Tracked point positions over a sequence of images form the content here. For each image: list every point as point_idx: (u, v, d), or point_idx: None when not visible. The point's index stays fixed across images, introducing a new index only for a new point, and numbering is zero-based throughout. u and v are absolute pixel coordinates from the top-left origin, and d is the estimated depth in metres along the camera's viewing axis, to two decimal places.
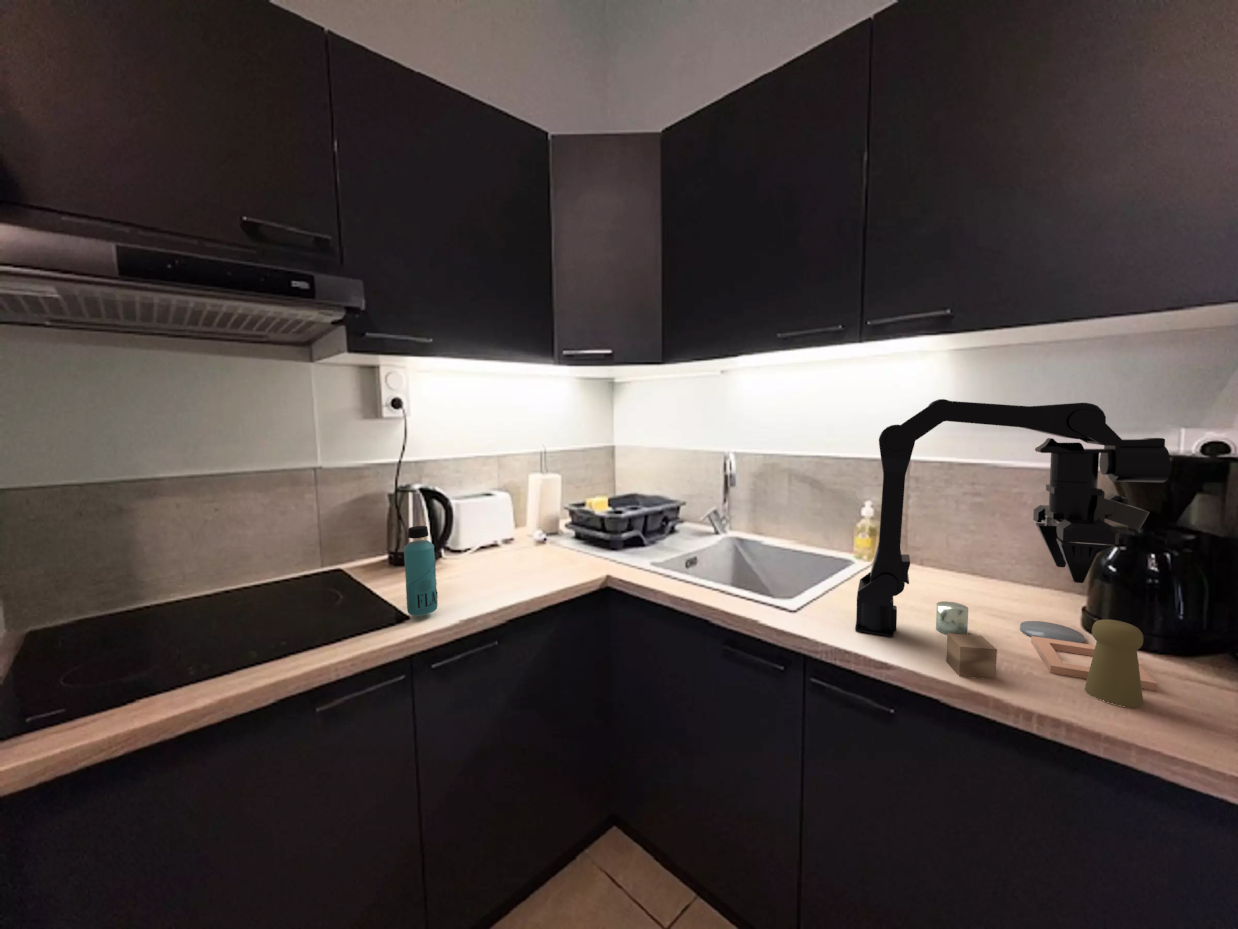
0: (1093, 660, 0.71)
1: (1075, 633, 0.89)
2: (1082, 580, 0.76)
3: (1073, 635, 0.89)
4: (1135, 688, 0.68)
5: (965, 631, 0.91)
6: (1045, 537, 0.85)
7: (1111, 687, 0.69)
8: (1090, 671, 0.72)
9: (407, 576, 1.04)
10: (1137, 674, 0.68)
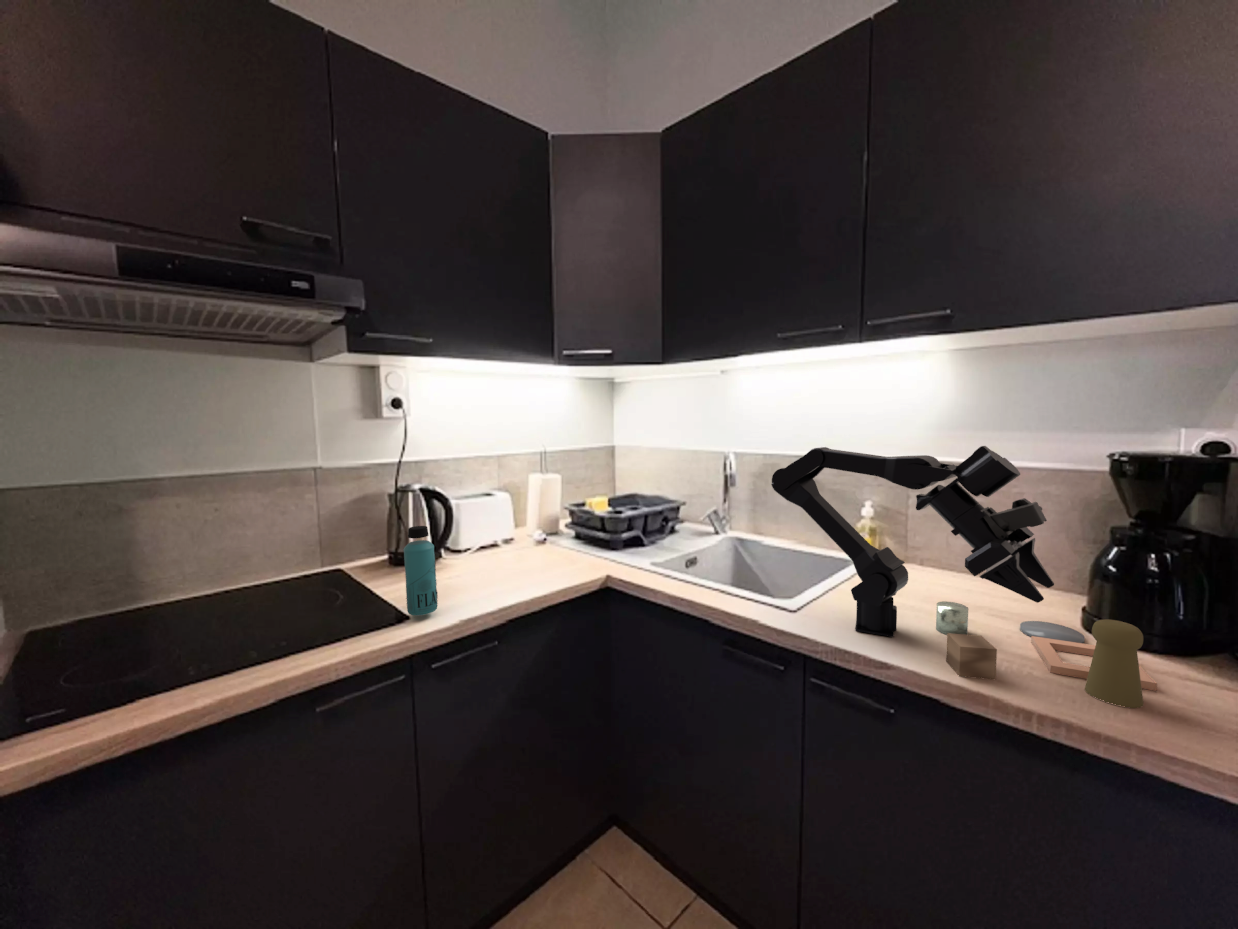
0: (1093, 660, 0.71)
1: (1075, 633, 0.89)
2: (1040, 597, 0.72)
3: (1073, 635, 0.89)
4: (1135, 688, 0.68)
5: (965, 631, 0.91)
6: None
7: (1111, 687, 0.69)
8: (1090, 671, 0.72)
9: (407, 576, 1.04)
10: (1137, 674, 0.68)
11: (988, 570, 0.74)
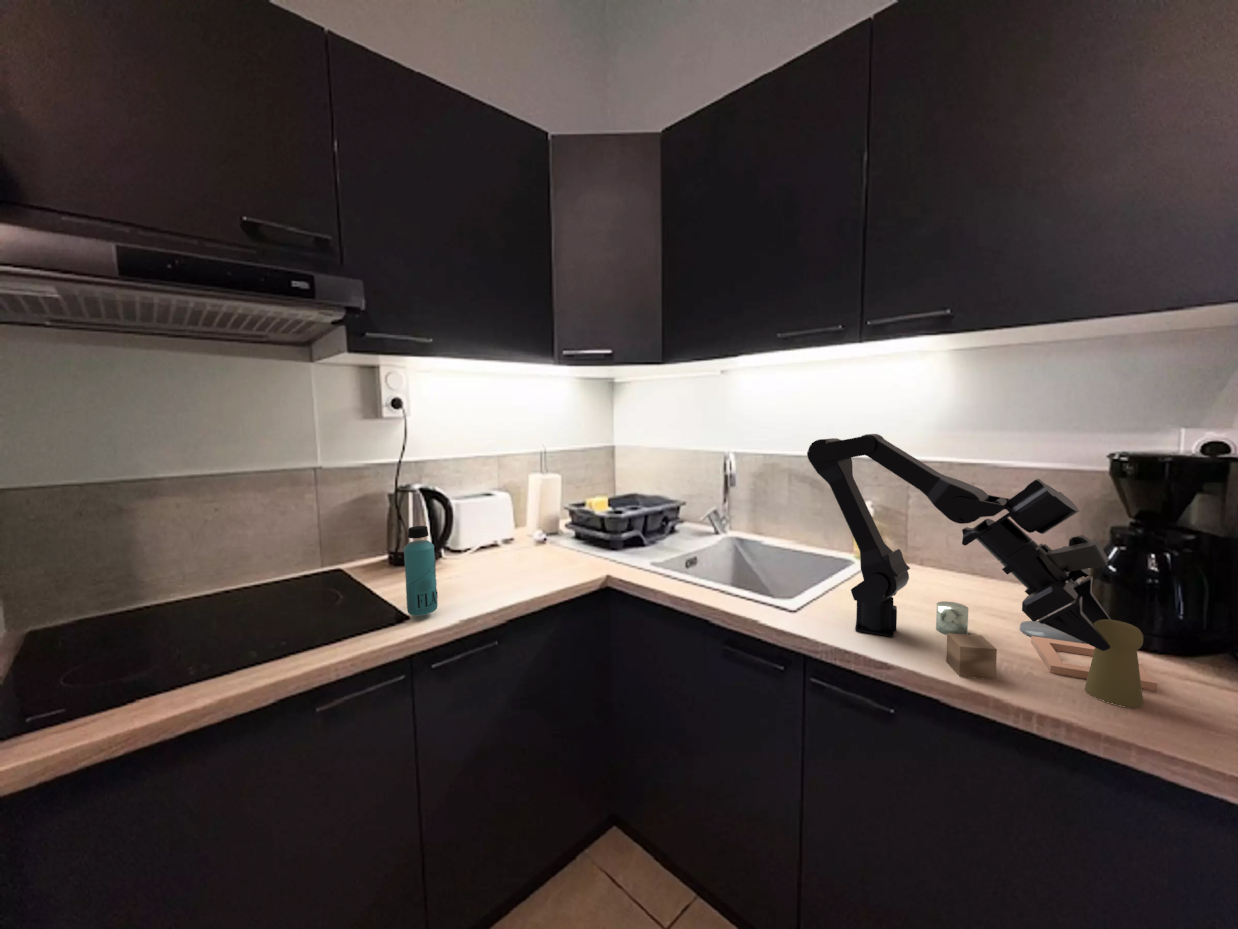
0: (1093, 660, 0.71)
1: None
2: (1106, 646, 0.67)
3: None
4: (1135, 688, 0.68)
5: (965, 631, 0.91)
6: None
7: (1111, 687, 0.69)
8: (1090, 671, 0.72)
9: (407, 576, 1.04)
10: (1137, 674, 0.68)
11: (1048, 615, 0.69)
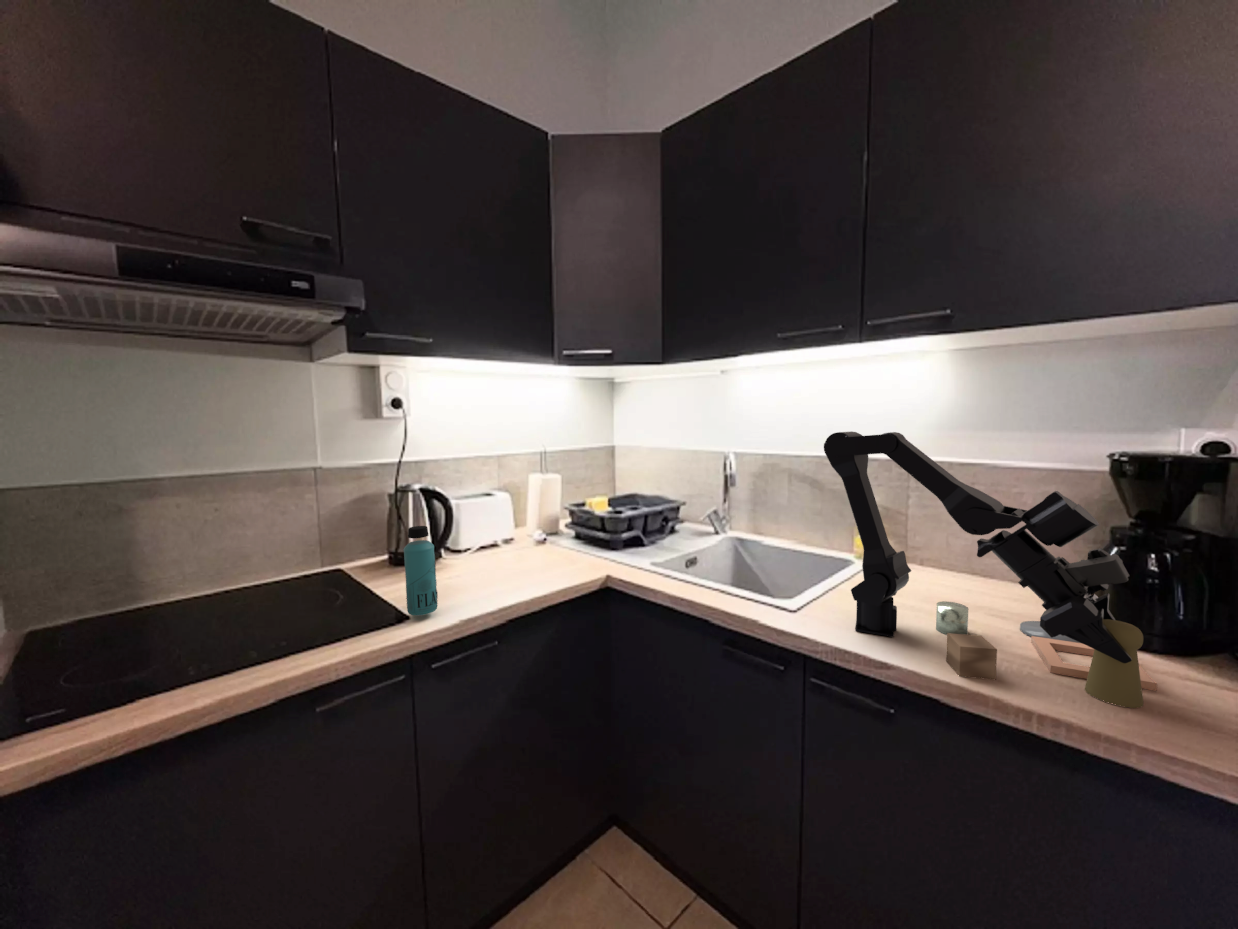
0: (1093, 660, 0.71)
1: None
2: (1128, 658, 0.67)
3: None
4: (1135, 688, 0.68)
5: (965, 631, 0.91)
6: None
7: (1111, 687, 0.69)
8: (1090, 671, 0.72)
9: (407, 576, 1.04)
10: (1137, 674, 0.68)
11: None
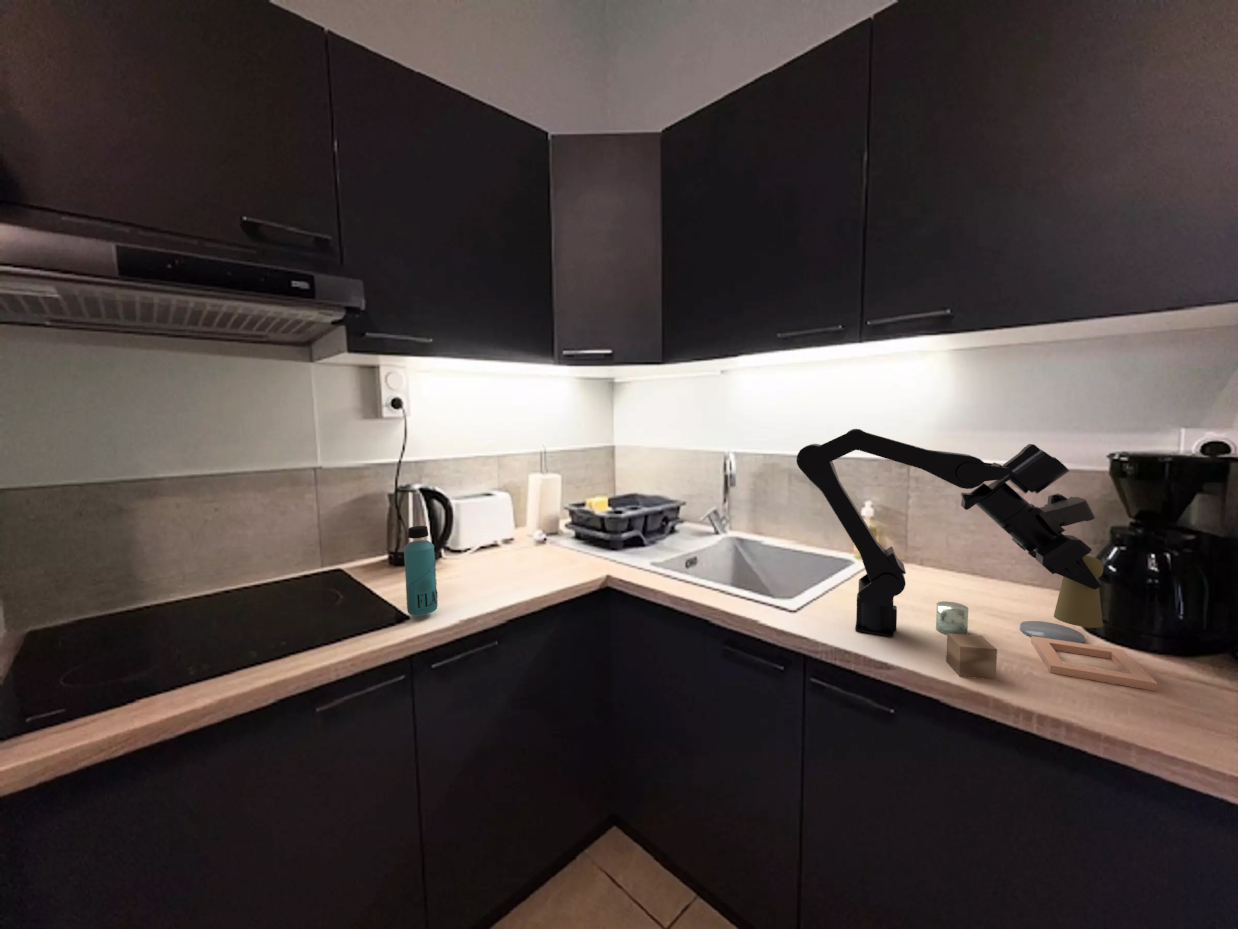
0: (1064, 591, 0.81)
1: (1075, 633, 0.89)
2: (1098, 584, 0.77)
3: (1073, 635, 0.89)
4: (1100, 610, 0.79)
5: (965, 631, 0.91)
6: None
7: (1084, 612, 0.79)
8: (1061, 601, 0.81)
9: (407, 576, 1.04)
10: (1099, 597, 0.79)
11: None
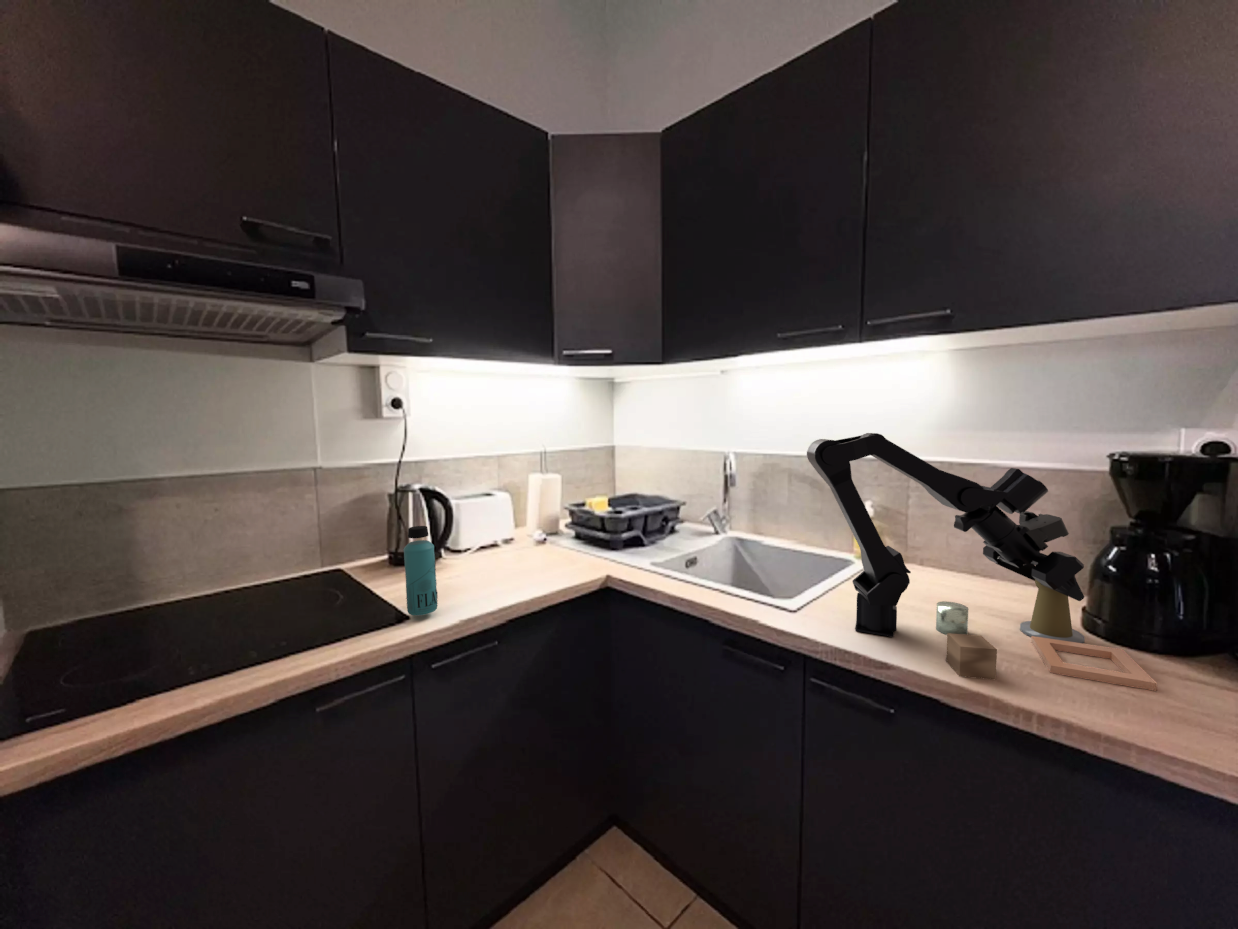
0: (1042, 606, 0.90)
1: (1075, 633, 0.89)
2: (1082, 596, 0.85)
3: (1073, 635, 0.89)
4: (1070, 620, 0.89)
5: (965, 631, 0.91)
6: (1014, 571, 0.95)
7: (1062, 624, 0.88)
8: (1040, 615, 0.90)
9: (407, 576, 1.04)
10: None
11: None
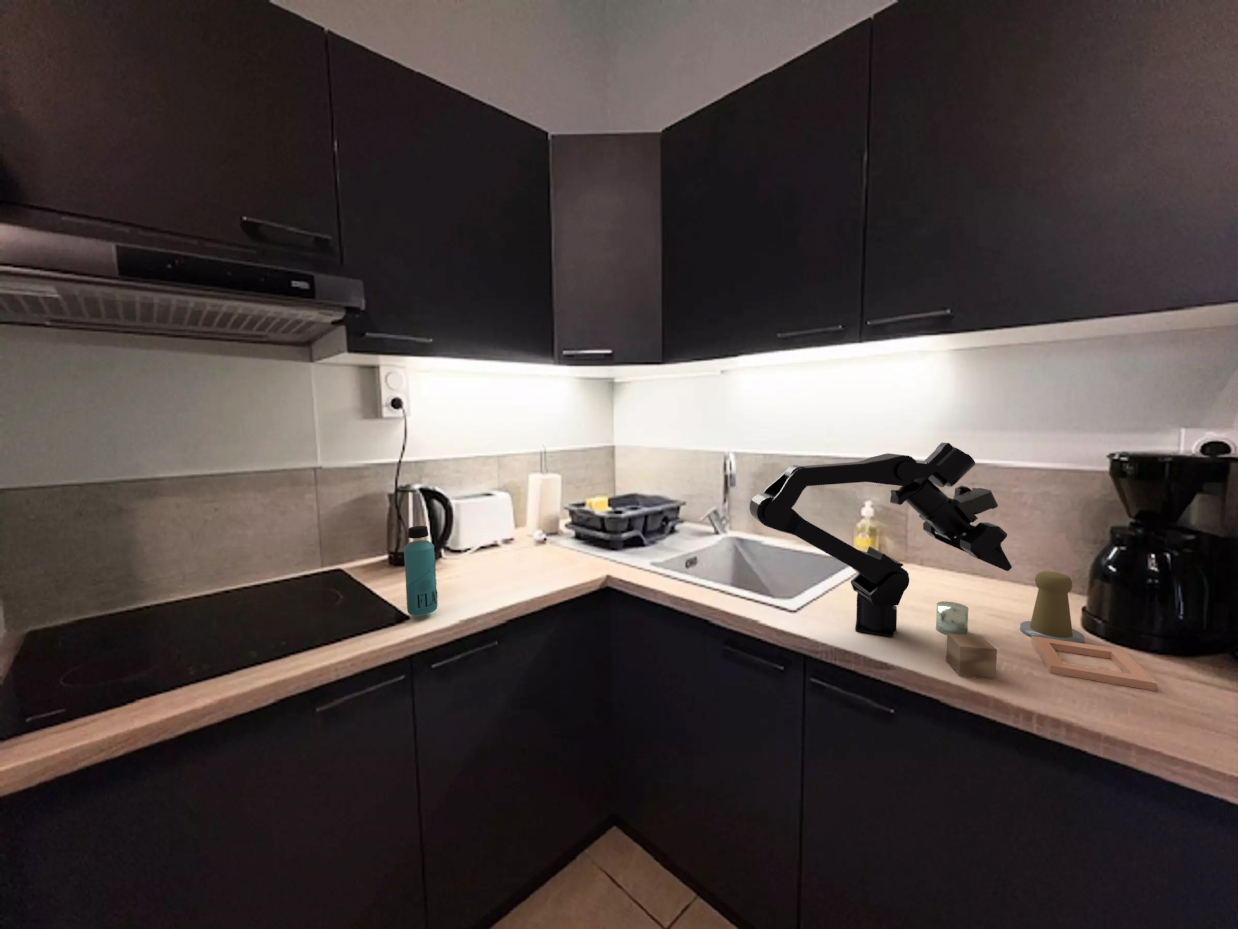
0: (1042, 606, 0.90)
1: (1075, 633, 0.89)
2: (1010, 566, 0.87)
3: (1073, 635, 0.89)
4: (1070, 620, 0.89)
5: (965, 631, 0.91)
6: (951, 544, 0.97)
7: (1062, 624, 0.88)
8: (1040, 615, 0.90)
9: (407, 576, 1.04)
10: None
11: None
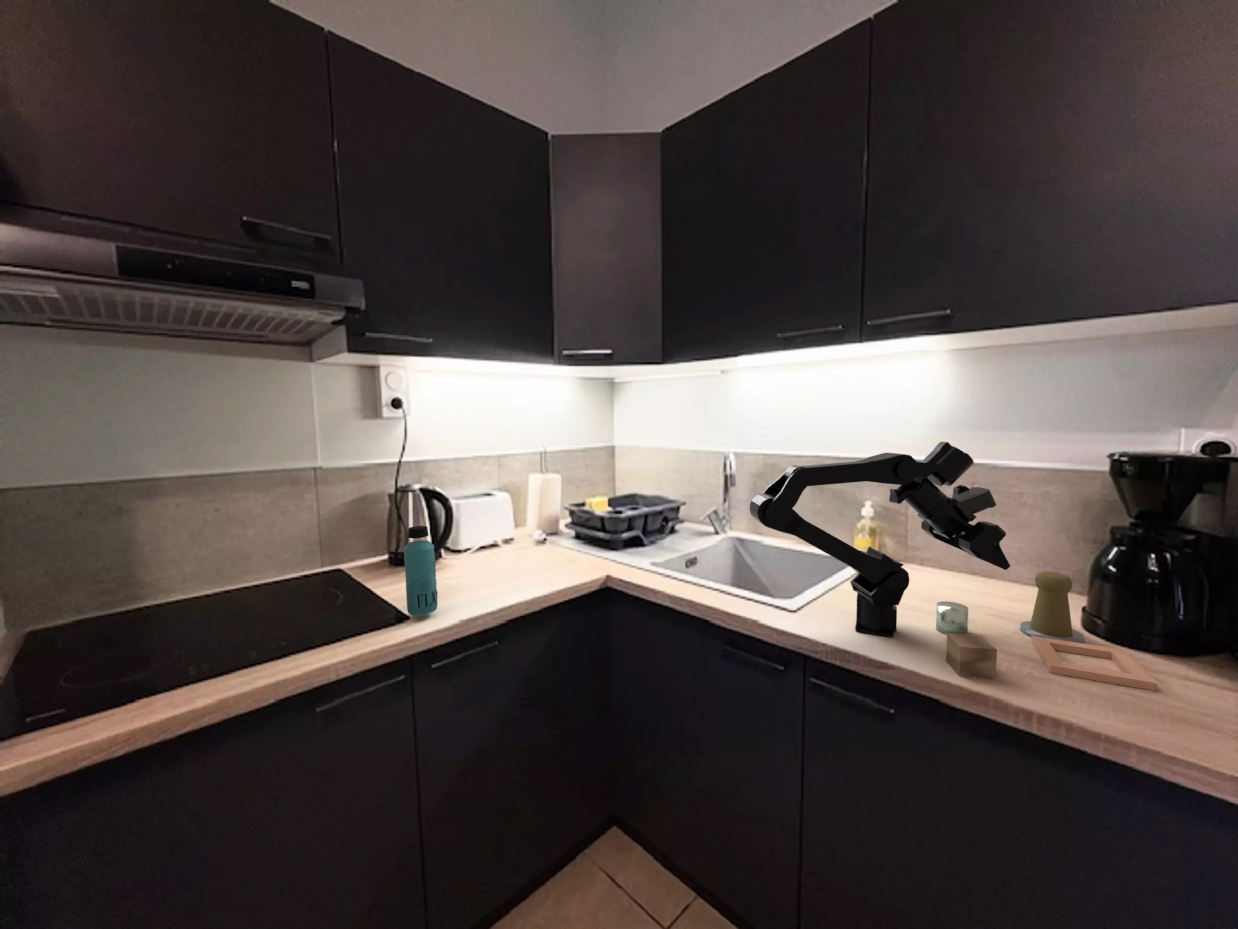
0: (1042, 606, 0.90)
1: (1075, 633, 0.89)
2: (1008, 565, 0.87)
3: (1073, 635, 0.89)
4: (1070, 620, 0.89)
5: (965, 631, 0.91)
6: (949, 543, 0.98)
7: (1062, 624, 0.88)
8: (1040, 615, 0.90)
9: (407, 576, 1.04)
10: None
11: None
